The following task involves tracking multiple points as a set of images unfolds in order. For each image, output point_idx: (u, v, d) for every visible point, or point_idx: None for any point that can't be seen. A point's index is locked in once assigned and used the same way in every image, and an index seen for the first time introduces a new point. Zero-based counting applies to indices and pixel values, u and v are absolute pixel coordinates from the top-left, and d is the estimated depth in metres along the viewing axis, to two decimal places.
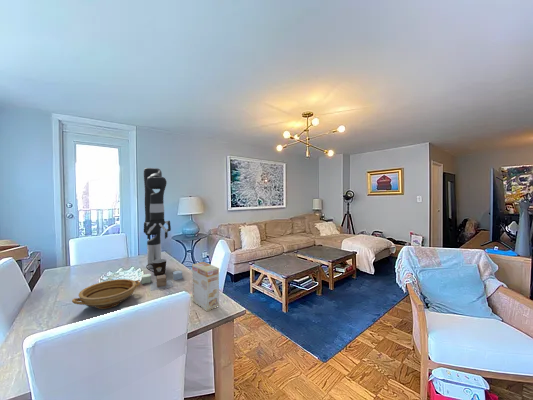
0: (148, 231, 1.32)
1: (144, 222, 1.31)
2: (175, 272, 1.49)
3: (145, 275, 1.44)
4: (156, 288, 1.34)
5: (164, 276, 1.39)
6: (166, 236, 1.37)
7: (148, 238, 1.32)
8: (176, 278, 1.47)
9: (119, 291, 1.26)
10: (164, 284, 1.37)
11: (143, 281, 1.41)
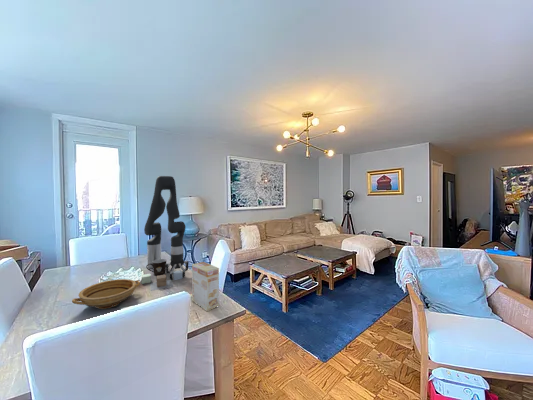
0: (170, 272, 1.46)
1: (166, 264, 1.46)
2: (175, 272, 1.49)
3: (145, 275, 1.44)
4: (156, 288, 1.34)
5: (164, 276, 1.39)
6: (184, 275, 1.51)
7: (170, 278, 1.47)
8: (176, 278, 1.47)
9: (119, 291, 1.26)
10: (164, 284, 1.37)
11: (143, 281, 1.41)
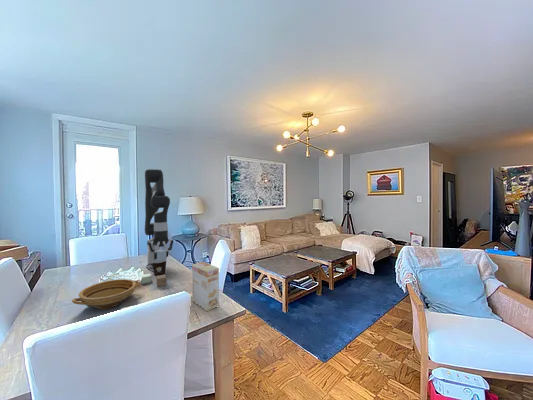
0: (155, 250, 1.35)
1: (148, 242, 1.34)
2: (158, 251, 1.37)
3: (145, 275, 1.44)
4: (156, 288, 1.34)
5: (164, 276, 1.39)
6: (167, 255, 1.39)
7: (155, 257, 1.36)
8: (159, 257, 1.36)
9: (119, 291, 1.26)
10: (164, 284, 1.37)
11: (143, 281, 1.41)
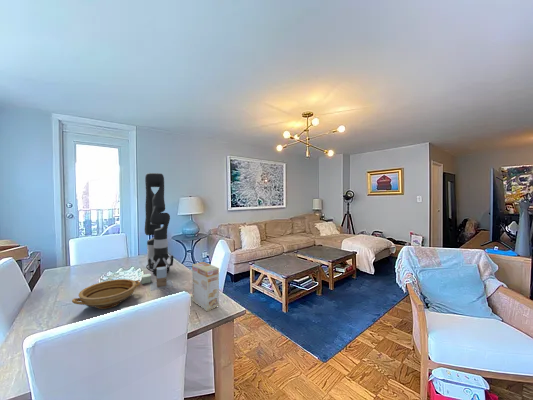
0: (153, 267, 1.35)
1: (148, 259, 1.35)
2: (159, 268, 1.38)
3: (145, 275, 1.44)
4: (156, 288, 1.34)
5: None
6: (168, 271, 1.40)
7: None
8: (159, 275, 1.36)
9: (119, 291, 1.26)
10: (164, 284, 1.37)
11: (143, 281, 1.41)
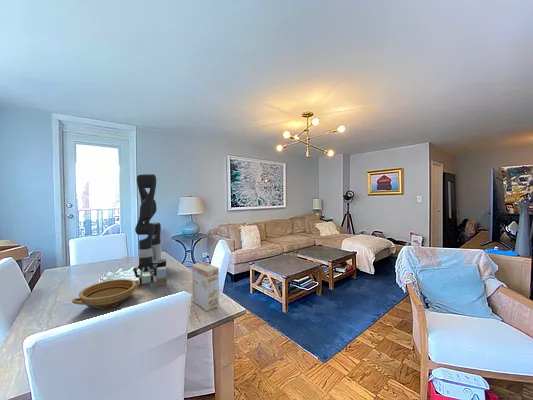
0: (139, 276, 1.41)
1: (133, 268, 1.40)
2: (159, 268, 1.38)
3: (145, 275, 1.44)
4: (156, 288, 1.34)
5: None
6: (152, 280, 1.45)
7: (140, 282, 1.42)
8: (159, 275, 1.36)
9: (119, 291, 1.26)
10: (164, 284, 1.37)
11: (143, 281, 1.41)
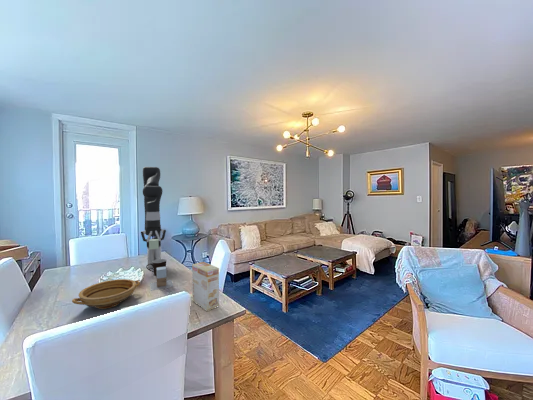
0: (147, 240, 1.37)
1: None
2: (159, 268, 1.38)
3: (153, 240, 1.39)
4: (156, 288, 1.34)
5: None
6: (159, 245, 1.40)
7: (147, 246, 1.37)
8: (159, 275, 1.36)
9: (119, 291, 1.26)
10: (164, 284, 1.37)
11: (151, 245, 1.36)
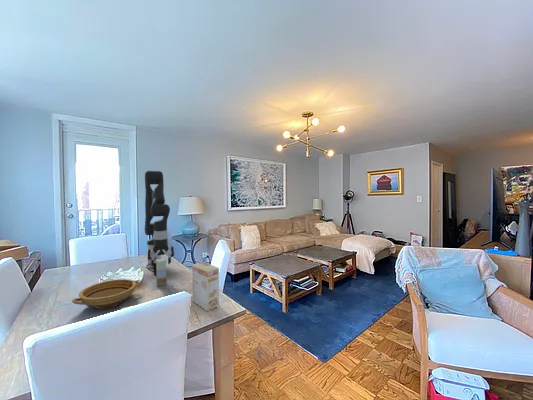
0: (152, 258, 1.35)
1: (148, 249, 1.34)
2: None
3: (160, 260, 1.38)
4: (156, 288, 1.34)
5: None
6: (169, 262, 1.40)
7: (152, 264, 1.36)
8: (159, 275, 1.36)
9: (119, 291, 1.26)
10: (164, 284, 1.37)
11: (158, 266, 1.35)
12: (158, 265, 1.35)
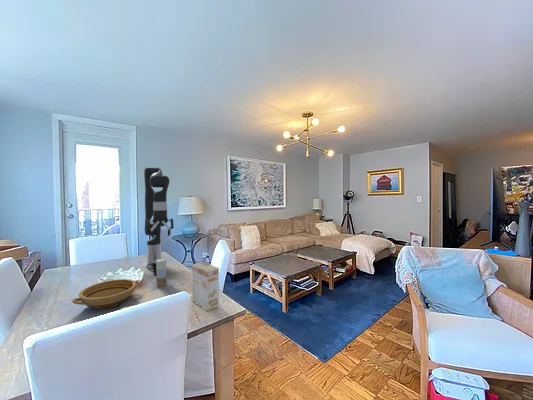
0: (151, 229, 1.34)
1: (147, 220, 1.34)
2: None
3: (160, 260, 1.38)
4: (156, 288, 1.34)
5: None
6: (169, 234, 1.39)
7: (151, 235, 1.35)
8: (159, 275, 1.36)
9: (119, 291, 1.26)
10: (164, 284, 1.37)
11: (158, 266, 1.35)
12: (158, 265, 1.35)
